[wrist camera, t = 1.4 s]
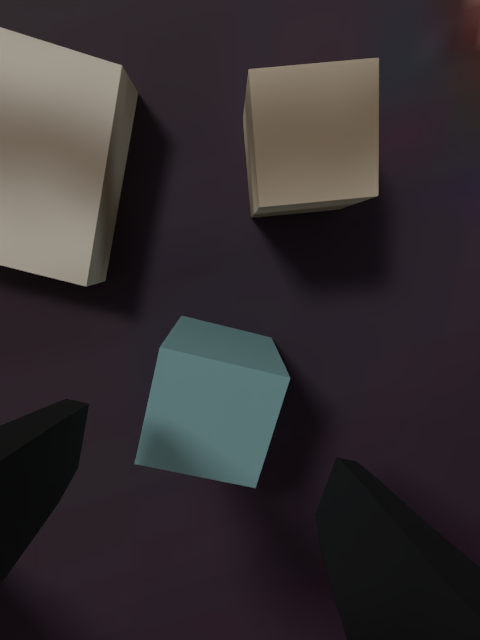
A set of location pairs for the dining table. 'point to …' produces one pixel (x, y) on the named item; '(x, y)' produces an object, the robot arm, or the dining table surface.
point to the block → (312, 136)
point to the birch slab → (60, 157)
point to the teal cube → (213, 403)
